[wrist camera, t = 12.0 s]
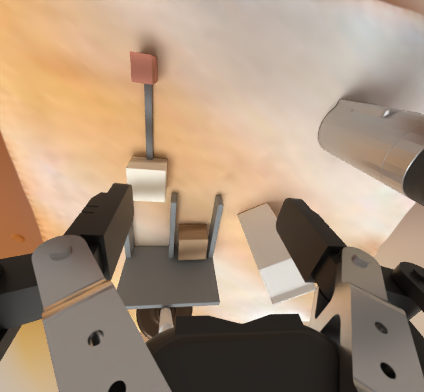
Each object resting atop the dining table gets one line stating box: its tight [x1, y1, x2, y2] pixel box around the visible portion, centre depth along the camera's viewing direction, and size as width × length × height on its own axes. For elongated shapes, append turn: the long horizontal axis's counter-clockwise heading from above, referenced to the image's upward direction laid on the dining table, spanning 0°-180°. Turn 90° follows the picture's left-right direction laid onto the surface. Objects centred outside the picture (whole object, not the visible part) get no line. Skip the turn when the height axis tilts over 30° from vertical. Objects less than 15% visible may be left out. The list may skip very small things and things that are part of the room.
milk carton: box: [238, 203, 316, 305], centre depth 39 cm, size 7×7×19 cm
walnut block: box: [178, 224, 208, 260], centre depth 45 cm, size 6×6×5 cm
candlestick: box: [136, 306, 192, 339], centre depth 37 cm, size 11×11×35 cm
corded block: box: [126, 51, 168, 202], centre depth 31 cm, size 21×6×6 cm, turn 172°
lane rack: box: [117, 193, 223, 309], centre depth 38 cm, size 16×19×14 cm
